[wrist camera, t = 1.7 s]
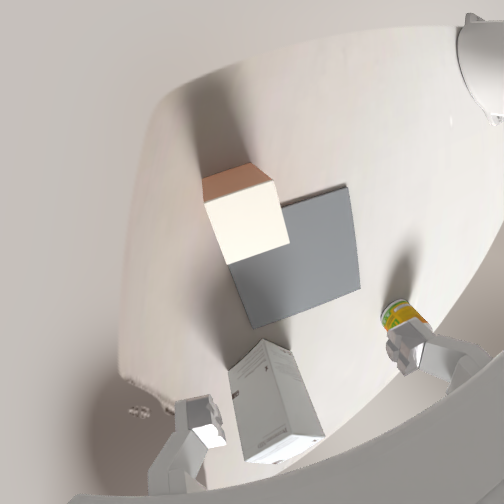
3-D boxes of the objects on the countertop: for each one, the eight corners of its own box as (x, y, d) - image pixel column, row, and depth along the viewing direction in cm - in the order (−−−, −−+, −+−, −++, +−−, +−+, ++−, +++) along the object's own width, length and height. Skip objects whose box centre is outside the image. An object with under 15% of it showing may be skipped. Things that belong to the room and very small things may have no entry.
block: (250, 162, 28) (273, 180, 20) (264, 208, 30) (290, 243, 22) (201, 178, 27) (203, 203, 19) (218, 223, 30) (226, 264, 22)
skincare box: (262, 336, 37) (293, 431, 24) (293, 351, 40) (329, 436, 27) (225, 373, 39) (241, 463, 26) (257, 384, 42) (279, 467, 29)
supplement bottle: (381, 305, 39) (417, 347, 31) (409, 293, 40) (446, 331, 31) (378, 330, 42) (410, 372, 33) (405, 319, 42) (438, 356, 34)
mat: (346, 186, 30) (347, 187, 30) (359, 286, 37) (360, 288, 36) (215, 229, 30) (215, 231, 30) (252, 327, 36) (253, 329, 36)
